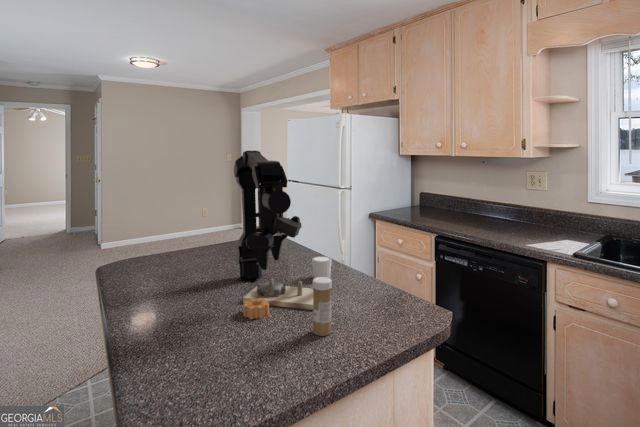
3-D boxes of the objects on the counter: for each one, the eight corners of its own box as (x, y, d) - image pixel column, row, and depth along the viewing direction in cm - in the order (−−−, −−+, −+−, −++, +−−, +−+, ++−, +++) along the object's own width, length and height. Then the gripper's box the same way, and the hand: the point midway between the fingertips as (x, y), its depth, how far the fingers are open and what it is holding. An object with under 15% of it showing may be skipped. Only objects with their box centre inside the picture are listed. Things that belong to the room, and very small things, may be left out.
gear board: (242, 302, 110) (242, 284, 109) (259, 288, 122) (259, 271, 121) (315, 310, 105) (315, 291, 104) (326, 294, 116) (326, 277, 115)
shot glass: (330, 282, 127) (329, 262, 126) (310, 281, 128) (309, 261, 127) (333, 275, 133) (333, 256, 132) (314, 274, 135) (314, 255, 134)
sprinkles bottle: (311, 328, 94) (311, 276, 92) (329, 327, 95) (329, 275, 92) (314, 337, 89) (314, 283, 87) (333, 335, 90) (333, 281, 88)
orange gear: (238, 317, 100) (238, 306, 100) (250, 307, 107) (249, 297, 107) (263, 320, 99) (263, 309, 98) (273, 309, 105) (273, 299, 105)
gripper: (286, 214, 91) (288, 277, 93) (306, 204, 109) (307, 257, 111) (243, 213, 93) (246, 274, 96) (270, 203, 111) (271, 255, 114)
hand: (270, 264), depth 104 cm, fingers open, 9 cm apart
